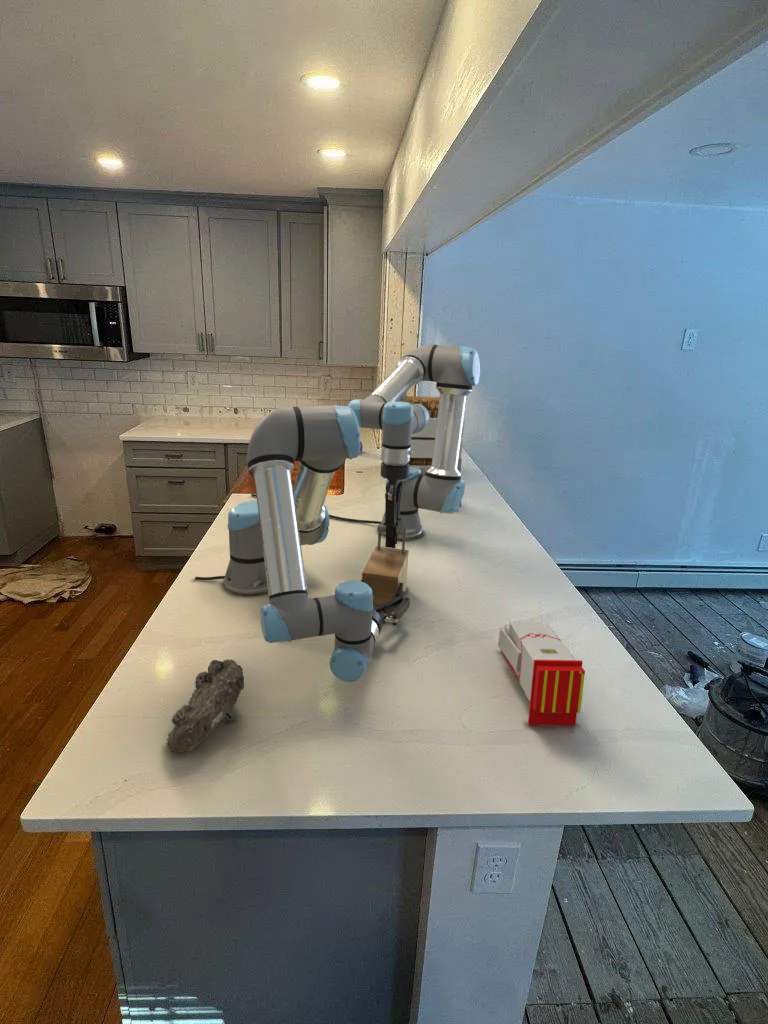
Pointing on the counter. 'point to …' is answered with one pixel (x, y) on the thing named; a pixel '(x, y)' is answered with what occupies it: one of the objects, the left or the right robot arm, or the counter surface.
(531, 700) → the toy
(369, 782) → the counter surface
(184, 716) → the fossil
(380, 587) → the chest
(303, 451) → the left robot arm
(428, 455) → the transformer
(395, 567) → the lid
